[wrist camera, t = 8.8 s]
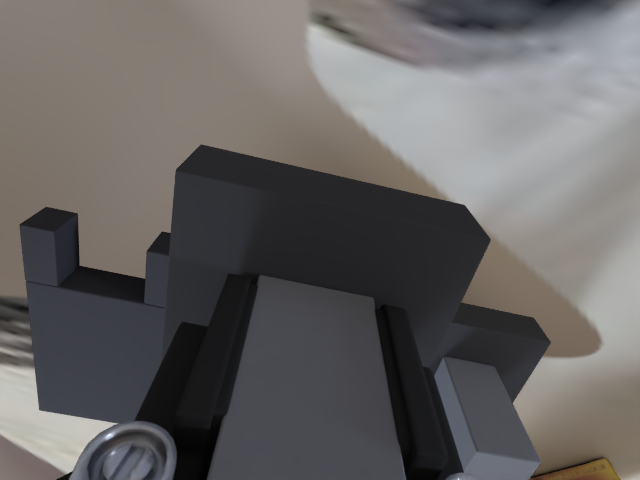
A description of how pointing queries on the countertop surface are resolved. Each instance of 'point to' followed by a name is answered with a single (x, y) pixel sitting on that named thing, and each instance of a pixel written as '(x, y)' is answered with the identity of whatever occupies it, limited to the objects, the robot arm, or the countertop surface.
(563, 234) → the countertop surface
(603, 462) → the candy box
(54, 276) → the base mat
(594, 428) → the countertop surface
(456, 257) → the pad
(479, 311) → the pad
